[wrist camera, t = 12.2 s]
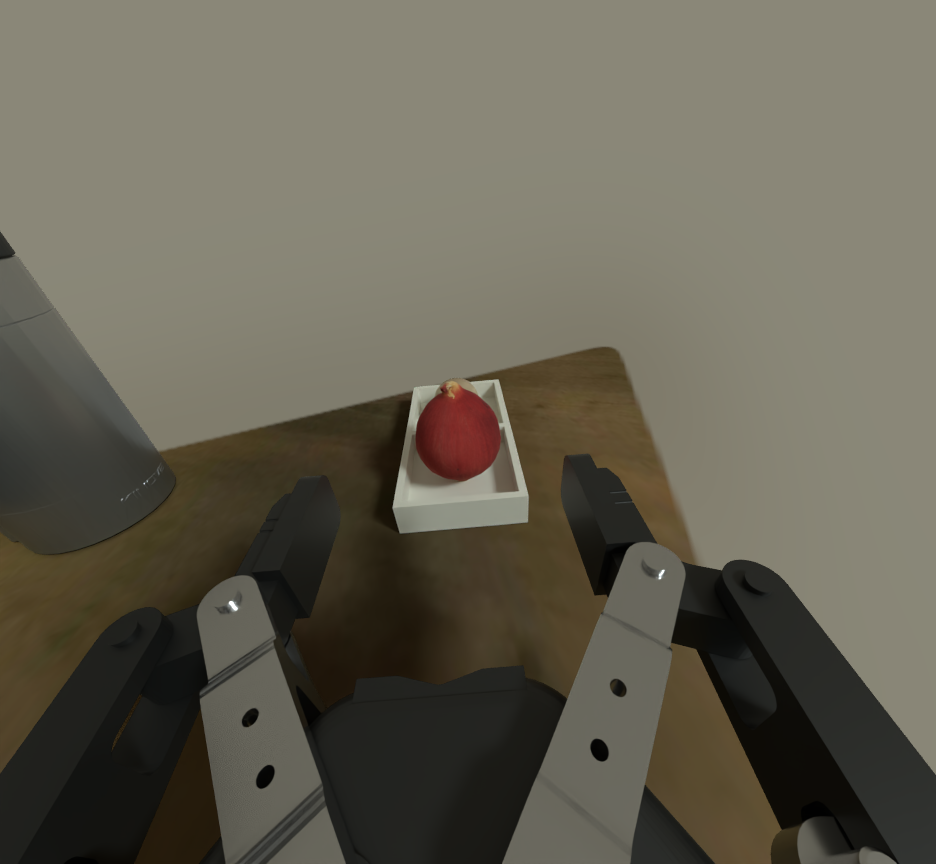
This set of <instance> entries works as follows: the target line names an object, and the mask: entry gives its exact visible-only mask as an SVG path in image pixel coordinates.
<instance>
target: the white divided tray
mask: <svg viewBox="0 0 936 864" xmlns="http://www.w3.org/2000/svg"><path fill="white" fill-rule="evenodd" d="M470 383H471V384H472V385H473V386H474V387H475V389H476V391H477V393H478V396H479V397H480V398H481V399H483V400H484V401H485V402H486V403H487V404H488V405H489V406H490V407H491V408H492V410H493V411H494V413H495V415H496V417H497V419H498V423H499V428H500V434H501V443H500V449H499V452H498V454H497V457H496V459H495V461H494V462H493V463H492V465H491V466H490V467H489V468H488V469H487V470H485V471H484V472H483V473H482V474H480V475H477V476H475V477H473V478H471V479H468V480H467V481H457V480H451V479H446V478H443V477H441V476H439V475H437V474H435V473H433V472H431V471H430V470H429V469H428V468H427V467H426V465H425V464H424V463H423V461H422V460H421V459H420V457H419V454H418V452H417V450H416V441H415V436H416V426H417V422H418V419H419V416H420V415H421V413H422V412H423V410H424V408H425V406H426V405H427V404H428V403H429V401H431V400H432V399H433V398H434V397H435V393H436V391H437V389H438V387H439V386H440V385H433V386H422V387H414V392H413V397H412V403H411V408H410V414H409V419H408V425H407V431H406V436H405V442H404V447H403V453H402V458H401V464H400V469H399V475H398V481H397V486H396V492H395V497H394V503H393V511H394V515H395V518H396V522H397V526H398V529H399V533H411V532H423V531H434V530H446V529H457V528H469V527H480V526H492V525H503V524H515V523H526V522H528V492H527V489H526V485H525V481H524V477H523V473H522V469H521V465H520V461H519V457H518V454H517V450H516V446H515V442H514V438H513V434H512V430H511V426H510V422H509V419H508V415H507V411H506V407H505V403H504V399H503V395H502V391H501V387H500V384H499V380H487V381H477V382H470Z"/></svg>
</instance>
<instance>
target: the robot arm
mask: <svg viewBox="0 0 936 864" xmlns="http://www.w3.org/2000/svg"><path fill="white" fill-rule="evenodd" d="M14 254H15V252H14V250H13V249H12V247H11V246H10V245H9V243H8V242H7V240H6V239H5V238H4V236H3V235H2V233H1V232H0V532H1V533H2V534H3V535H5V536H6V537H7V538H8V539H10V540H11V541H12V542H16V541H19V542H20V543H22V544H23V545H24V546H25V547H26V548H28V549H29V550H31V551H33V552H34V553H38V554H46V555H47V554H59V553H64V552H69V551H73V550H77V549H80V548H83V547H86V546H89V545H92V544H95V543H97V542H100V541H102V540H104V539H107V538H109V537H111V536H113V535H115V534H117V533H119V532H121V531H123V530H125V529H127V528H128V527H130V526H132V525H133V524H135V523H136V522H138V521H139V520H141V519H143V518H144V517H145V516H147V515H148V514H149V513H151V512H152V511H153V510H154V509H156V508H157V507H158V506H159V505H160V504H161V503H162V502H163V501H164V500H165V499H166V498H167V496H168V495H169V494H170V493H171V491H172V489H173V487H174V485H175V479H176V477H175V475H174V473H173V471H172V470H171V469H170V467H169V466H168V464H167V463H166V462H165V460H164V459H163V458H162V456H161V455H160V453H159V452H158V451H157V449H156V448H155V446H154V445H153V444H152V442H151V441H150V440H149V438H148V436H147V435H146V434H145V432H144V431H143V430H142V428H141V427H140V425H139V424H138V422H137V421H136V420H135V418H134V417H133V415H132V414H131V413H130V411H129V410H128V409H127V407H126V406H125V404H124V403H123V402H122V401H121V399H120V397H119V396H118V395H117V393H116V392H115V390H114V389H113V388H112V386H111V385H110V384H109V382H108V381H107V379H106V378H105V377H104V375H103V374H102V372H101V371H100V370H99V368H98V367H97V365H96V364H95V363H94V361H93V360H92V358H91V357H90V356H89V354H88V353H87V352H86V350H85V349H84V347H83V346H82V345H81V343H80V342H79V340H78V339H77V338H76V336H75V335H74V333H73V332H72V331H71V329H70V328H69V327H68V326H67V324H66V322H65V321H64V320H63V318H62V317H61V316H60V314H59V313H58V311H57V310H56V308H54V306H53V305H52V303H51V302H50V301H49V299H48V298H47V297H46V295H45V294H44V292H43V291H42V289H41V288H40V287H39V285H38V284H37V282H36V281H35V280H34V278H33V277H32V276H31V274H30V273H29V271H28V270H27V269H26V267H25V266H24V264H23V263H22V262H21V260H20V259H19V258H18V257H17V256H12V255H14ZM561 498H562V504H563V507H564V510H565V513H566V516H567V519H568V522H569V524H570V527H571V530H572V533H573V536H574V538H575V541H576V544H577V547H578V550H579V552H580V555H581V558H582V561H583V564H584V567H585V569H586V572H587V575H588V578H589V581H590V583H591V586H592V589H593V592H594V595H606V594H607V597H608V601H607V603H606V606H605V608H604V611H603V613H601V615H600V617H599V620H598V622H597V625H596V627H595V630H594V632H593V635H592V638H591V640H590V643H589V645H588V648H587V650H586V653H585V656H584V658H583V661H582V663H581V666H580V668H579V671H578V674H577V676H576V679H575V681H574V684H573V686H572V689H571V691H570V694H569V697H568V699H567V698H566V697H565V696H563V695H562V694H560V693H559V692H558V691H556V690H555V689H553V688H551V687H549V686H547V685H546V684H544V683H541V682H538V681H536V680H533V679H529V678H525V672H524V666H511V667H499V668H486V669H481V670H478V671H476V672H473V673H470V674H468V675H465V676H463V677H460V678H458V679H455V680H452V681H450V682H447V683H445V684H441V685H436V684H431V683H427V682H423V681H418V680H414V679H410V678H405V677H401V676H388V677H376V678H363V679H357V680H356V685H355V690H354V693H352V694H350V695H348V696H346V697H344V698H342V699H340V700H339V701H337V702H336V703H334V704H333V705H331V706H330V707H329V708H328V709H326V707H325V705H324V703H323V701H322V699H321V698H320V696H319V694H318V692H317V690H316V688H315V686H314V684H313V682H312V679H311V677H310V674H309V672H308V669H307V667H306V664H305V662H304V659H303V657H302V655H301V652H300V650H299V647H298V645H297V642H296V640H295V637H294V635H293V633H292V631H291V629H292V626H293V623H294V621H295V619H299V618H310V615H311V612H312V609H313V605H314V602H315V599H316V596H317V593H318V590H319V587H320V584H321V581H322V578H323V574H324V571H325V568H326V565H327V562H328V559H329V556H330V553H331V550H332V546H333V543H334V540H335V537H336V534H337V531H338V528H339V524H340V508H339V505H338V503H337V500H336V498H335V495H334V493H333V490H332V488H331V485H330V483H329V480H328V478H327V477H326V476H325V475H322V476H310V477H301V478H300V479H299V480H298V482H297V484H296V486H295V488H294V490H293V492H292V494H285V495H284V496H283V497H282V498H281V499H280V500H279V501H278V502H277V503H276V504H275V505H274V506H273V507H272V509H271V511H270V512H269V514H268V516H267V518H266V522H264V523H263V525H262V527H261V529H260V533H258V534H257V536H256V538H255V540H254V542H253V543H252V545H251V547H250V549H249V551H248V552H247V554H246V556H245V558H244V560H243V562H242V563H241V565H240V567H239V569H238V571H237V573H236V574H235V576H234V577H232V578H229V579H227V580H225V581H223V582H221V583H220V584H218V585H217V586H215V587H214V588H213V589H212V590H211V591H209V592H208V594H207V595H206V596H205V597H204V598H203V600H202V601H201V603H200V604H198V605H195V606H192V607H190V608H187V609H184V610H181V611H179V612H176V613H173V614H170V615H167V616H164V615H163V614H162V613H161V612H160V611H159V610H158V609H156V608H152V607H145V608H141V609H137V610H134V611H132V612H130V613H128V614H126V615H124V616H123V617H121V618H120V619H118V620H117V621H115V622H114V623H113V624H111V625H110V626H109V627H108V628H107V629H106V630H105V631H104V632H103V633H102V634H101V635H100V636H99V638H98V639H97V640H96V642H95V643H94V644H93V646H92V647H91V649H90V650H89V651H88V653H87V654H86V656H85V657H84V658H83V660H82V661H81V662H80V664H79V665H78V667H77V668H76V669H75V671H74V672H73V674H72V675H71V676H70V678H69V679H68V681H67V682H66V683H65V685H64V686H63V687H62V689H61V690H60V692H59V693H58V694H57V696H56V697H55V699H54V700H53V701H52V703H51V704H50V706H49V707H48V708H47V710H46V711H45V712H44V714H43V715H42V717H41V718H40V719H39V721H38V722H37V724H36V725H35V726H34V728H33V729H32V731H31V732H30V733H29V735H28V736H27V737H26V739H25V740H24V742H23V743H22V744H21V746H20V747H19V749H18V750H17V751H16V753H15V754H14V756H13V757H12V758H11V760H10V761H9V763H8V764H7V765H6V767H5V768H4V769H3V771H2V772H1V774H0V864H134V862H135V860H136V857H137V855H138V853H139V850H140V848H141V846H142V843H143V841H144V839H145V836H146V834H147V832H148V829H149V827H150V825H151V822H152V820H153V818H154V815H155V813H156V811H157V808H158V806H159V804H160V801H161V799H162V797H163V794H164V792H165V790H166V787H167V785H168V782H169V780H170V778H171V775H172V773H173V771H174V768H175V766H176V764H177V761H178V759H179V757H180V754H181V752H182V750H183V747H184V745H185V743H186V740H187V738H188V736H189V733H190V731H191V729H192V726H193V724H194V722H195V719H196V717H197V715H198V712H199V710H200V707H201V712H202V718H203V724H204V730H205V737H206V743H207V749H208V755H209V762H210V768H211V774H212V780H213V787H214V793H215V799H216V805H217V812H218V818H219V824H220V830H221V837H220V838H219V839H218V840H217V842H216V843H215V844H214V845H213V847H212V848H211V849H210V851H209V852H208V853H207V854H206V856H205V857H204V858H203V859H202V861H201V862H200V863H199V864H715V863H714V862H713V861H712V859H711V858H710V857H709V856H708V855H707V854H706V853H705V852H704V850H703V849H702V848H701V847H700V846H699V845H698V844H697V843H696V841H695V840H694V839H693V838H692V837H691V836H690V835H689V834H688V832H687V831H686V830H685V829H684V828H683V827H682V826H681V825H680V823H679V822H678V821H677V820H676V819H675V818H674V817H673V816H672V814H671V813H670V812H669V811H668V810H667V809H666V808H665V807H664V805H663V804H662V803H661V802H660V801H659V800H658V799H657V798H656V796H655V795H654V794H653V793H652V792H651V791H650V790H649V789H648V787H647V786H646V785H645V781H646V776H647V771H648V767H649V762H650V757H651V752H652V748H653V743H654V738H655V734H656V729H657V724H658V720H659V715H660V710H661V706H662V701H663V696H664V692H665V687H666V682H667V678H668V673H669V668H670V664H671V658H672V649H671V648H670V644H671V643H675V644H678V645H682V646H686V647H690V648H694V649H696V650H697V652H698V654H699V656H700V658H701V660H702V662H703V664H704V666H705V669H706V671H707V673H708V675H709V677H710V679H711V681H712V683H713V685H714V688H715V690H716V692H717V694H718V696H719V698H720V700H721V702H722V704H723V707H724V709H725V711H726V713H727V715H728V717H729V719H730V721H731V724H732V726H733V728H734V730H735V732H736V734H737V736H738V738H739V740H740V743H741V745H742V747H743V749H744V751H745V753H746V755H747V757H748V759H749V762H750V764H751V766H752V768H753V770H754V772H755V774H756V776H757V778H758V781H759V783H760V785H761V787H762V789H763V791H764V793H765V795H766V797H767V800H768V802H769V804H770V806H771V808H772V810H773V812H774V814H775V816H776V819H777V821H778V823H779V825H780V827H781V829H782V830H781V831H780V832H779V833H778V834H776V836H775V838H774V839H773V843H772V846H771V862H772V864H936V775H935V773H934V772H933V771H932V770H931V768H930V767H929V766H928V764H927V763H926V762H925V761H924V759H923V758H922V757H921V755H920V754H919V753H918V752H917V750H916V749H915V748H914V747H913V745H912V744H911V743H910V741H909V740H908V739H907V737H906V736H905V735H904V734H903V732H902V731H901V730H900V728H899V727H898V726H897V725H896V723H895V722H894V721H893V720H892V718H891V717H890V716H889V714H888V713H887V712H886V710H884V708H883V707H882V705H881V704H880V703H879V702H878V700H877V699H876V698H875V696H874V695H873V694H872V692H871V691H870V690H869V689H868V687H867V686H866V685H865V683H864V682H863V681H862V680H861V678H860V677H859V676H858V674H857V673H856V672H855V671H854V669H853V668H852V667H851V665H850V664H849V663H848V661H847V660H846V659H845V658H844V656H843V655H842V654H841V652H840V651H839V650H838V649H837V647H836V646H835V645H834V643H833V642H832V641H831V640H830V638H828V636H827V634H826V633H825V632H824V631H823V629H822V628H821V627H820V626H819V624H818V623H817V622H816V620H815V619H814V618H813V616H812V615H811V614H810V613H809V611H808V610H807V609H806V608H805V606H804V605H803V604H802V602H801V601H800V600H799V598H798V597H797V596H796V595H795V593H794V592H793V591H792V590H791V588H790V587H789V586H788V584H787V583H786V582H785V581H784V580H783V579H782V578H781V577H780V576H779V575H778V574H776V573H775V572H774V571H772V570H770V569H769V568H767V567H765V566H763V565H761V564H758V563H756V562H752V561H747V560H734V561H730V562H729V563H727V564H726V565H725V566H724V568H723V570H722V571H721V570H716V569H711V568H706V567H701V566H696V565H691V564H687V563H685V562H682V561H680V559H679V558H678V557H677V556H676V555H675V554H674V553H673V552H672V551H670V550H669V549H667V548H665V547H663V546H661V545H658V544H657V542H656V541H655V539H654V537H653V535H652V534H651V532H650V530H649V529H648V527H647V525H646V523H645V522H644V520H643V518H642V517H641V515H640V513H639V511H638V510H637V508H636V506H635V504H634V503H632V499H631V498H630V496H629V494H628V493H627V492H626V489H625V487H624V486H623V484H622V482H621V480H620V479H619V477H617V476H616V475H615V474H614V473H612V472H611V471H610V470H609V469H607V468H597V467H596V465H595V463H594V462H593V460H592V458H591V456H590V455H589V454H579V455H567V456H565V458H564V465H563V475H562V484H561ZM139 694H140V695H142V698H141V700H140V701H139V703H138V705H137V707H136V709H135V710H134V712H133V714H132V716H131V718H130V720H129V721H128V723H127V725H126V727H125V729H124V730H123V732H122V734H121V736H120V738H119V739H118V741H117V743H116V745H115V747H114V749H113V750H112V745H113V742H114V739H115V737H116V735H117V733H118V732H119V730H120V728H121V726H122V724H123V723H124V721H125V719H126V717H127V715H128V714H129V712H130V710H131V708H132V706H133V705H134V703H135V701H136V699H137V697H138V696H139ZM111 751H112V752H111Z"/></svg>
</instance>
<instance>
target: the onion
mask: <svg viewBox="0 0 936 864" xmlns="http://www.w3.org/2000/svg"><path fill="white" fill-rule="evenodd" d="M440 390H441V391H442V393H440V394H438V395H437V396H435V397H434V398H433V399H432V400H431V401H429V403H428V404H427V405H426V406H425V408H424V410H423V412H422V413H421V415H420V416H419V419H418V422H417V426H416V436H415V441H416V450H417V452H418V454H419V457H420V459H421V460H422V461H423V463H424V464H425V465H426V467H427V468H428V469H429V470H430V471H431V472H433V473H435V474H437V475H439V476H441V477H443V478H446V479H451V480H457V481H467V480H468V479H471V478H473V477H475V476H477V475H480V474H482V473H483V472H484V471H485V470H487V469H488V468H489V467H490V466H491V465H492V463H493V462H494V461H495V459H496V457H497V454H498V452H499V449H500V443H501V434H500V428H499V423H498V419H497V417H496V415H495V413H494V411H493V410H492V408H491V407H490V406H489V405H488V404H487V403H486V402H485V401H484V400H483V399H481V398H480V397H479V396H478V395H477V394H475V393H473V392H471V391H469V390H466V389H464V388H462V387H461V386H460V385H459V384H458V383H456V382H454V381H448V382H446V383H445V384H444V385H443V386H442V387H441V388H440Z"/></svg>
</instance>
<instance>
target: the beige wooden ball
mask: <svg viewBox="0 0 936 864" xmlns="http://www.w3.org/2000/svg"><path fill="white" fill-rule="evenodd" d="M448 381H454V382H456V383H458V384H459V385H460V386H461V387H462V388H464V389H466V390H469V391H471V392H473V393H475V394H477V395H478V393H477V391H476V389H475V387H474V386H473V385H472V384H471V383H470V382H468V381H467V380H464V379H461V378H452V379H449V380H446V381H445V382H443V383H442V384H441V385H440V386H439V387H438V389H437V391H436V393H435V396H437V395H438V394H440V393H442V391H441V390H440V388H441V387H442V386H443V385H444V384H445V383H446V382H448Z"/></svg>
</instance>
